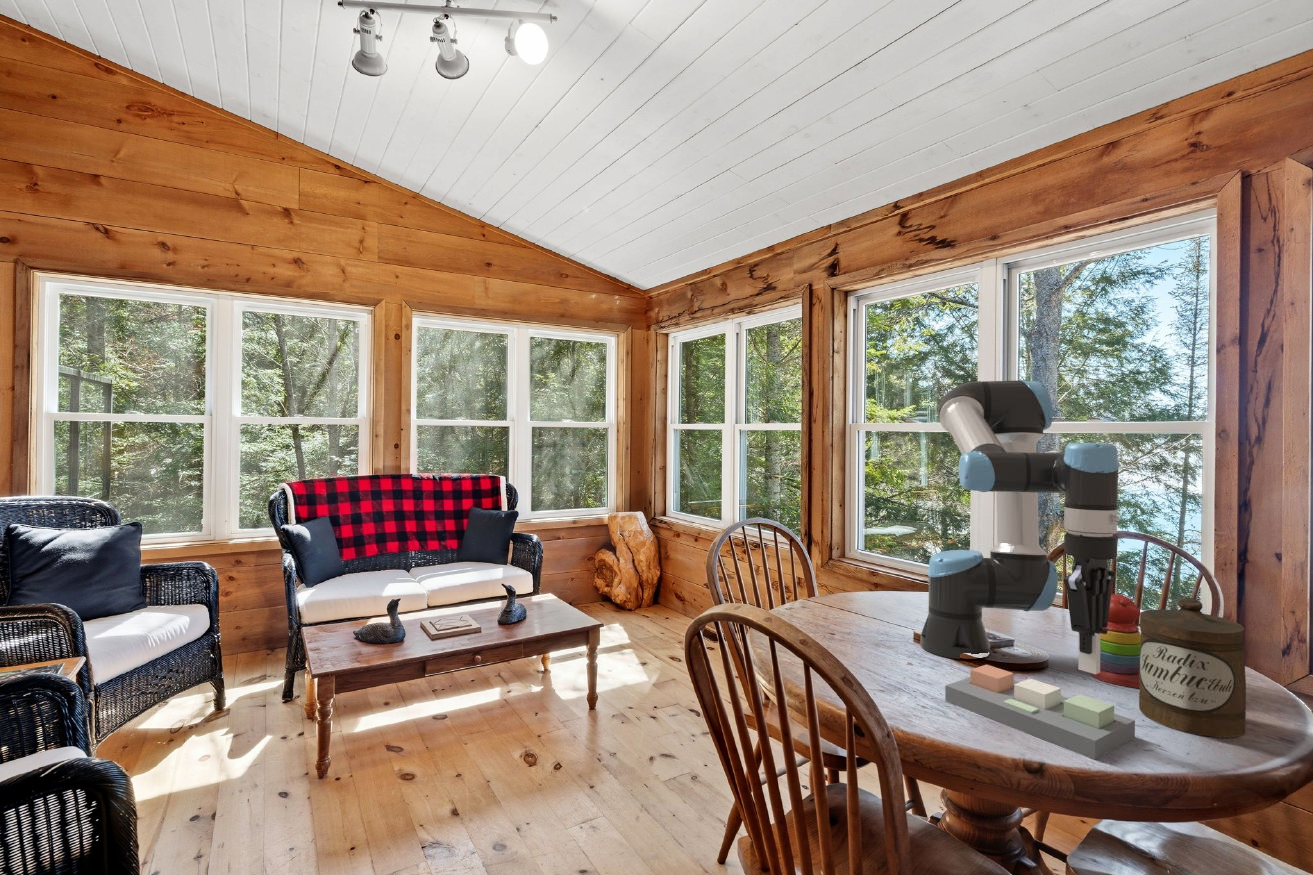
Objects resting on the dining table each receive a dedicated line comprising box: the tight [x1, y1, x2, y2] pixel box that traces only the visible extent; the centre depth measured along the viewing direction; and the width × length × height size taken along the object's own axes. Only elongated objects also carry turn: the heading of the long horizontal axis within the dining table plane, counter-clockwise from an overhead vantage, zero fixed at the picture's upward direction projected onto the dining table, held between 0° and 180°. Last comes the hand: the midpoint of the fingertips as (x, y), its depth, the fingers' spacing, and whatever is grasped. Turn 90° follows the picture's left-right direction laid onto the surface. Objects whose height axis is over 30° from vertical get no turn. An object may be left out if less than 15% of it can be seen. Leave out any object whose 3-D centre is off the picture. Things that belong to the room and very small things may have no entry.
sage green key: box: [1064, 694, 1115, 729], centre depth 109 cm, size 5×5×3 cm
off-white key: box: [1014, 678, 1062, 710], centre depth 117 cm, size 5×5×3 cm
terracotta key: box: [970, 664, 1015, 693], centre depth 124 cm, size 5×5×3 cm
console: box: [944, 676, 1136, 760], centre depth 116 cm, size 26×14×3 cm, turn 32°
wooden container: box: [1138, 597, 1247, 739], centre depth 116 cm, size 15×15×22 cm
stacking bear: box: [1090, 592, 1141, 689], centre depth 135 cm, size 11×10×18 cm
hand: (1089, 670), depth 109 cm, fingers closed
